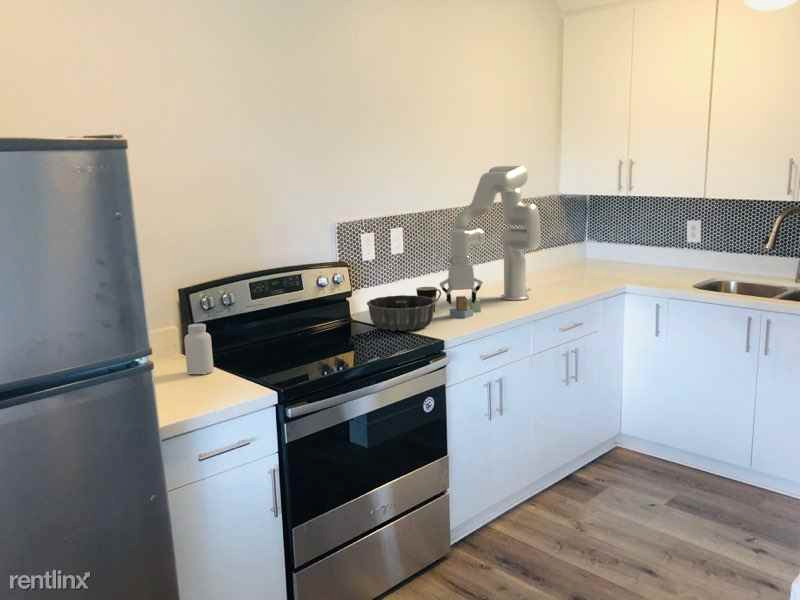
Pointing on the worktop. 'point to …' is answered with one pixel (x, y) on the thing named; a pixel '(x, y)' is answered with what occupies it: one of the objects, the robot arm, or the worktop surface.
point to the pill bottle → (198, 350)
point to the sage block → (475, 305)
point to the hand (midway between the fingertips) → (461, 302)
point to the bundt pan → (401, 312)
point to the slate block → (461, 313)
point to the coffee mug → (428, 293)
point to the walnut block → (461, 303)
